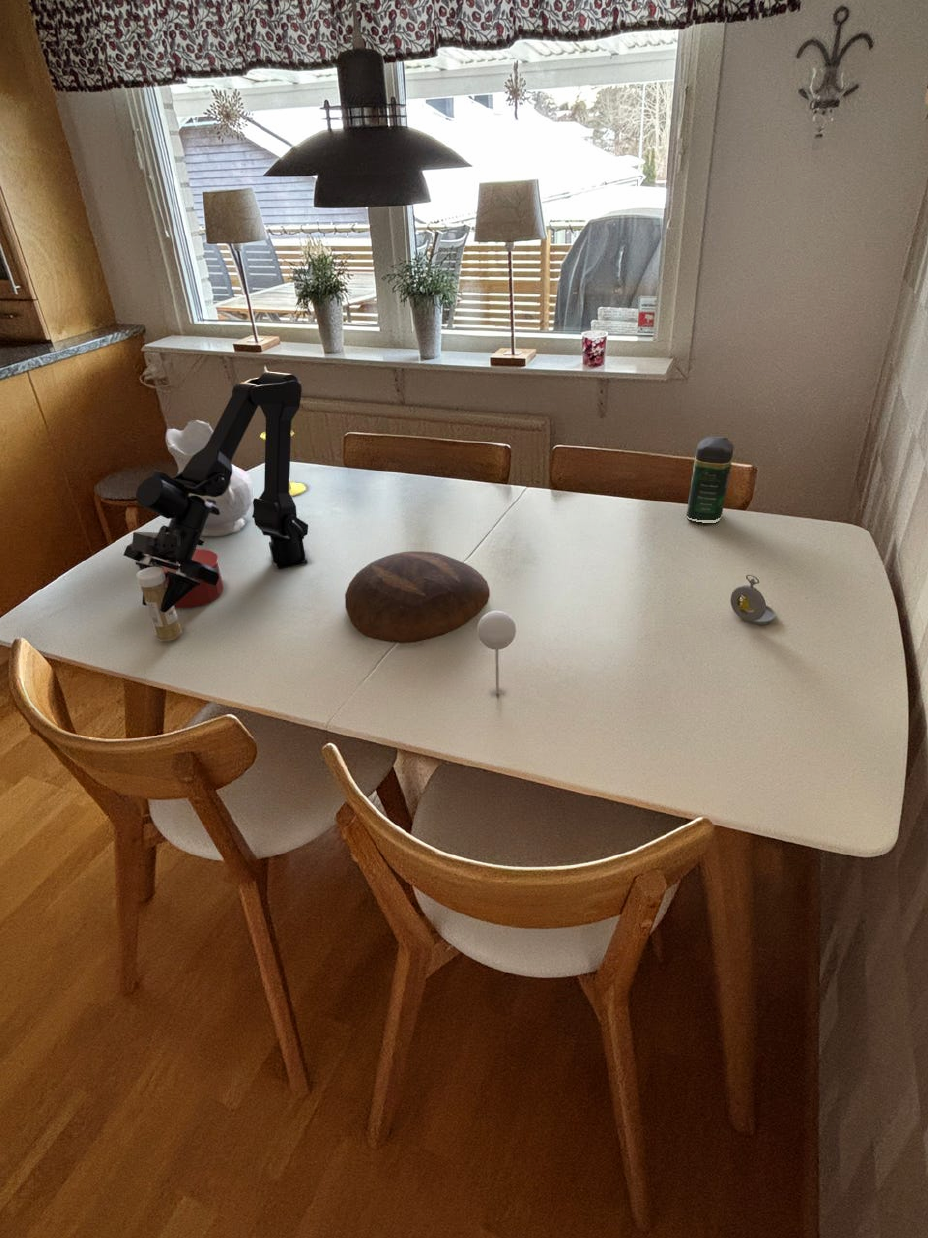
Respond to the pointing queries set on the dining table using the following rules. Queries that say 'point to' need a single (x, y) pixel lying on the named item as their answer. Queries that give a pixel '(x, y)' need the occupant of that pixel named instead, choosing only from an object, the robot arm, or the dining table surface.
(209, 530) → the ceramic pitcher
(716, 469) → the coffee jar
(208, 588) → the pot
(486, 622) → the lollipop
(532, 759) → the dining table surface
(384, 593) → the bread
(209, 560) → the pot lid
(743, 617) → the pocket watch
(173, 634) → the sprinkles bottle
